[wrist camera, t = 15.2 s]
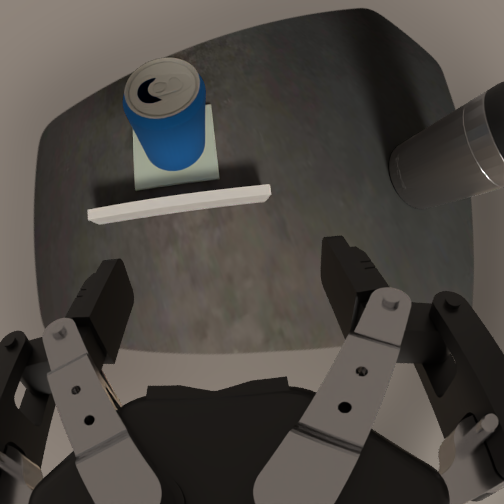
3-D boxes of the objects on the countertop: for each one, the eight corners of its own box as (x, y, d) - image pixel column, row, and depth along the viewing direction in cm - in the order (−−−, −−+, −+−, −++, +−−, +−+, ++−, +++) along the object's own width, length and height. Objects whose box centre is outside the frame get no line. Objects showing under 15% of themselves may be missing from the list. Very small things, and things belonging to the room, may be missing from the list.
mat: (210, 106, 32) (210, 104, 32) (219, 179, 32) (219, 177, 31) (134, 117, 31) (132, 115, 30) (136, 190, 31) (135, 189, 30)
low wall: (263, 192, 33) (269, 184, 29) (264, 201, 33) (271, 194, 29) (99, 215, 30) (87, 209, 27) (99, 224, 30) (88, 219, 27)
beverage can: (140, 130, 30) (113, 68, 19) (196, 112, 31) (193, 45, 20) (154, 181, 30) (126, 135, 19) (212, 162, 31) (216, 107, 20)
